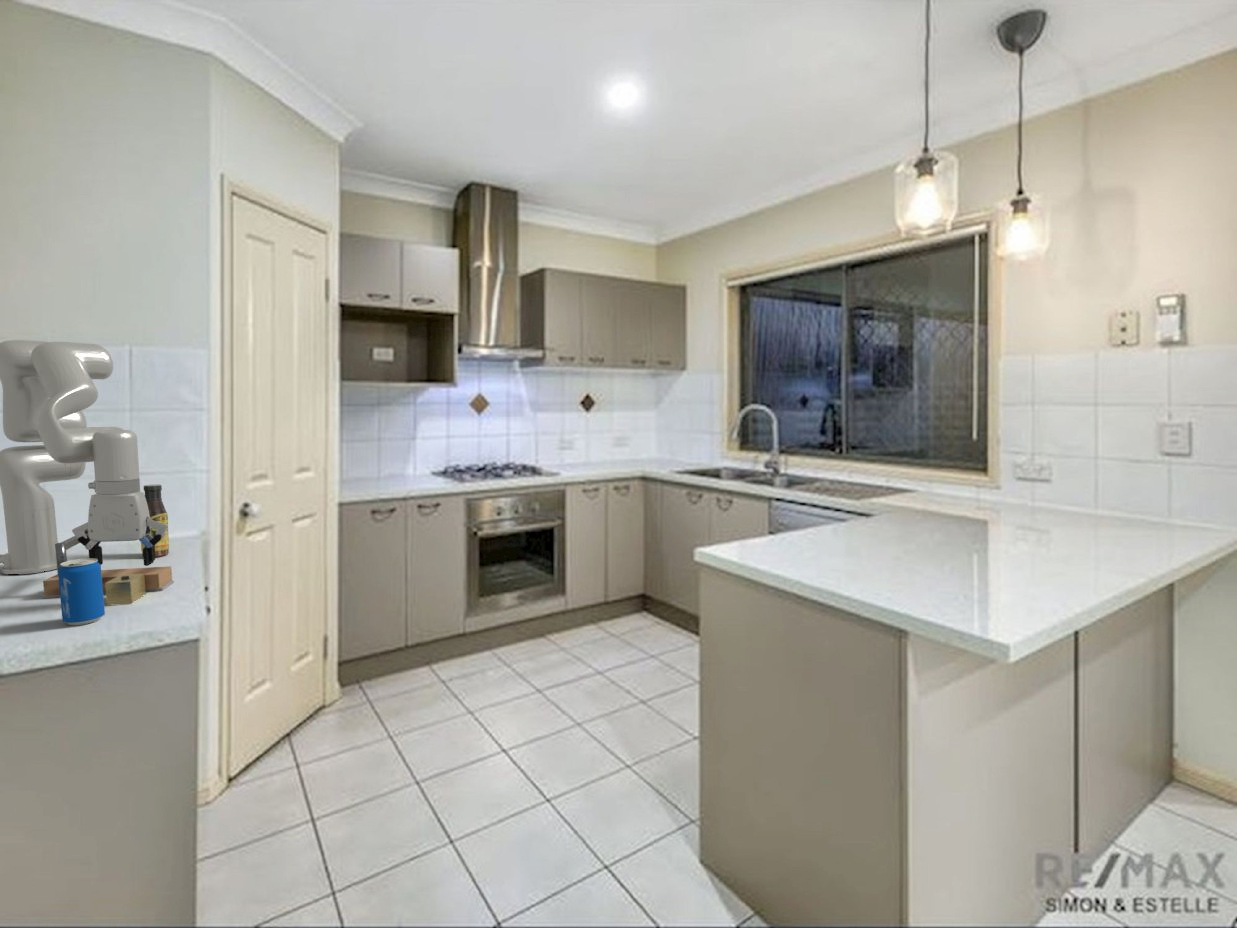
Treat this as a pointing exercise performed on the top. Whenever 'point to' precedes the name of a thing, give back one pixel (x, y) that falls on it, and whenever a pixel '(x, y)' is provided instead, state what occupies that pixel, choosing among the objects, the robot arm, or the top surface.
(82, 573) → the beverage can
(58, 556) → the lever
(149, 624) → the top surface
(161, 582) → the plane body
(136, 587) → the tan knob block
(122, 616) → the top surface
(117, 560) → the top surface
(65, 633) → the top surface
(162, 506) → the sauce bottle
